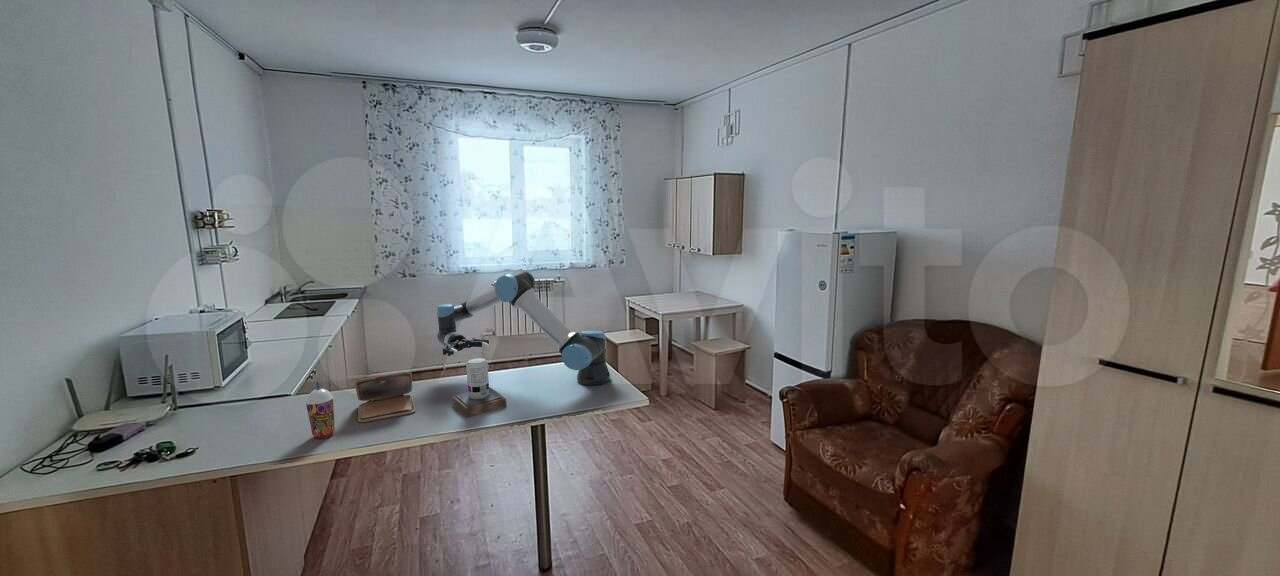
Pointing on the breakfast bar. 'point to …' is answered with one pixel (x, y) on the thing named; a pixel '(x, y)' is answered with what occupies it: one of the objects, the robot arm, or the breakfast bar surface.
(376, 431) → the breakfast bar surface
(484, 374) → the supplement can
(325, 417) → the smoothie
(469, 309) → the robot arm
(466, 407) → the podium
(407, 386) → the case
